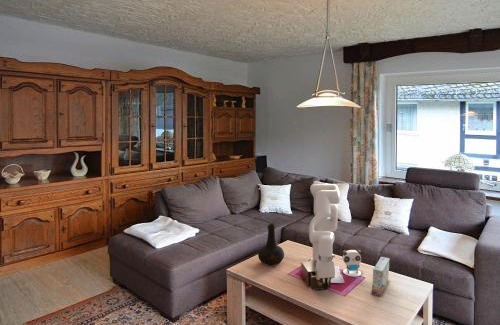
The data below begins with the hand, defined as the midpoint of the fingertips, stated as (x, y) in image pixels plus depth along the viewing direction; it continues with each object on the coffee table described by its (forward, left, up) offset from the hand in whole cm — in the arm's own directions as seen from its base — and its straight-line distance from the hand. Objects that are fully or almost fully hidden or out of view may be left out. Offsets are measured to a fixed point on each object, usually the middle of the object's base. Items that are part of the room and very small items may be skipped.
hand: (325, 288), depth 197 cm
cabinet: (-13, -13, -4) cm, 19 cm away
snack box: (-27, +23, -5) cm, 36 cm away
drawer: (-8, -8, -4) cm, 11 cm away
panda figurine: (-36, +2, -5) cm, 37 cm away
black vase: (-19, -49, -5) cm, 53 cm away
